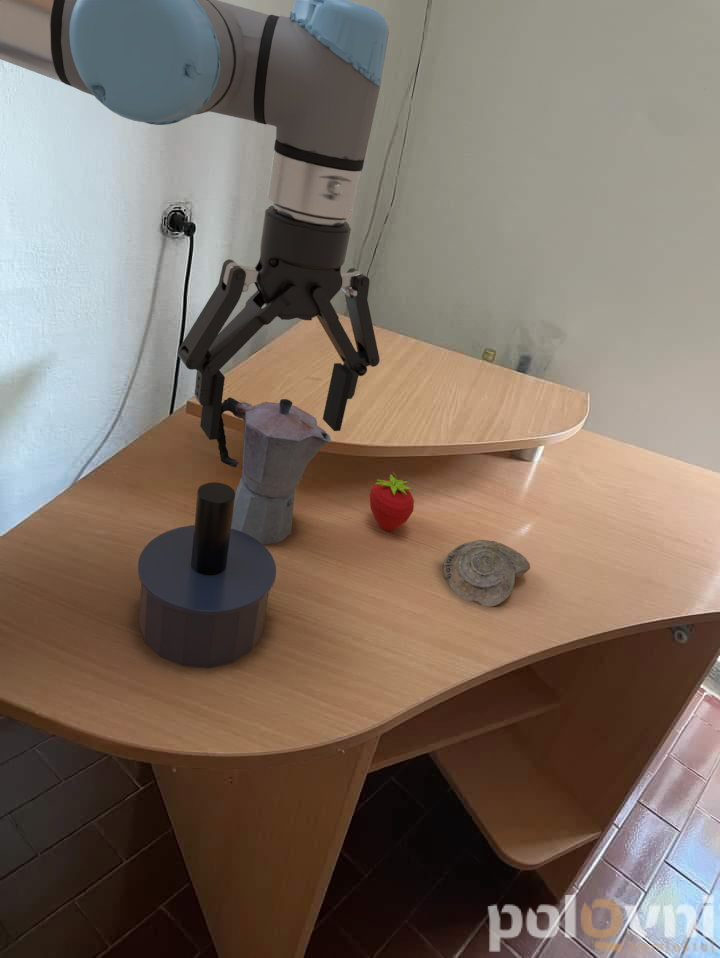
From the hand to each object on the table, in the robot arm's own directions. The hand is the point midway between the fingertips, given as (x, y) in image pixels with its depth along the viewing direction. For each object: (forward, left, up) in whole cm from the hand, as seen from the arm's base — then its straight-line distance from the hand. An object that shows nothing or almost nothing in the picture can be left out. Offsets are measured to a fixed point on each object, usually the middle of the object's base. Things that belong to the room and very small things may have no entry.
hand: (272, 429), depth 71 cm
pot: (-6, -3, -23) cm, 24 cm away
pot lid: (-6, -3, -14) cm, 16 cm away
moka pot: (+6, +13, -23) cm, 27 cm away
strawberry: (+24, +9, -23) cm, 34 cm away
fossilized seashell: (+32, -5, -23) cm, 39 cm away
